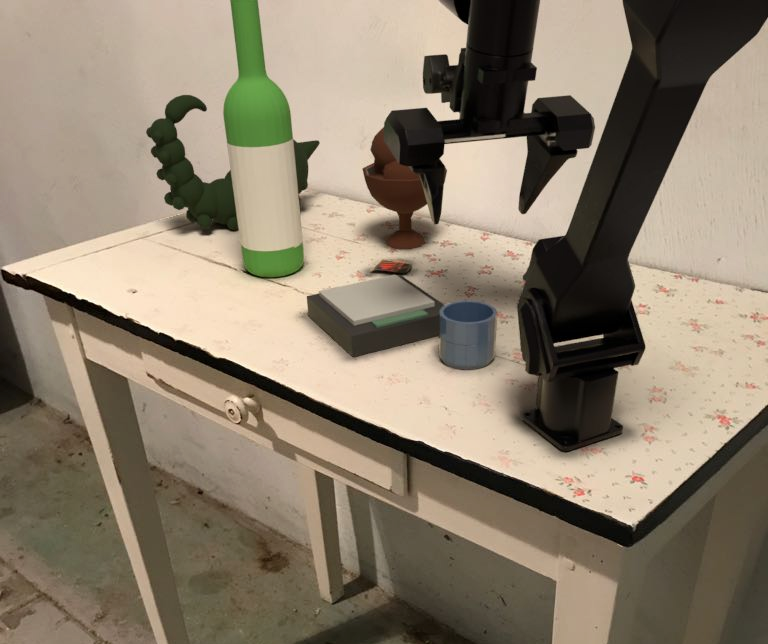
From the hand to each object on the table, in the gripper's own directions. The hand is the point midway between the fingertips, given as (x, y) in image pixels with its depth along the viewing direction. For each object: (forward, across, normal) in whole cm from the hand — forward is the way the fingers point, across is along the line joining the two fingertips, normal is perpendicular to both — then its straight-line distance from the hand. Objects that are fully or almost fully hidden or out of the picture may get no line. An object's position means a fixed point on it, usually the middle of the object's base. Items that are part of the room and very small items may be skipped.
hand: (478, 217), depth 81 cm
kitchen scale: (+13, +9, -3) cm, 16 cm away
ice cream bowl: (+18, -1, -27) cm, 32 cm away
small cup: (+11, +3, +8) cm, 14 cm away
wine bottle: (+17, +17, -23) cm, 34 cm away
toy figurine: (+21, +17, -44) cm, 51 cm away
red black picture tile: (+16, +3, -18) cm, 24 cm away
